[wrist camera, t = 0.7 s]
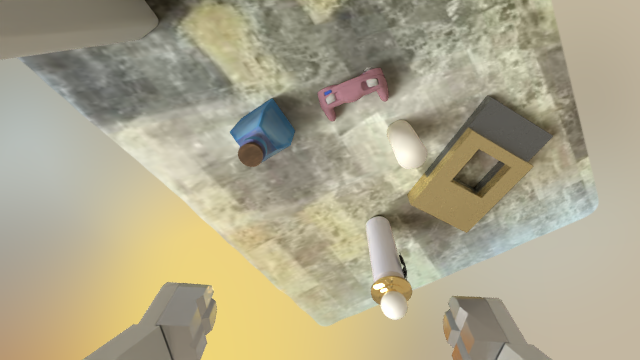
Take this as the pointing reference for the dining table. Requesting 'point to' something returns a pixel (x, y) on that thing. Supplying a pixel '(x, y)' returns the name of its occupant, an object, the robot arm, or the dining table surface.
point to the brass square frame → (477, 133)
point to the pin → (406, 145)
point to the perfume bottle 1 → (262, 134)
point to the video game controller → (353, 90)
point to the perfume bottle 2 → (387, 270)
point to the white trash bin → (70, 24)
